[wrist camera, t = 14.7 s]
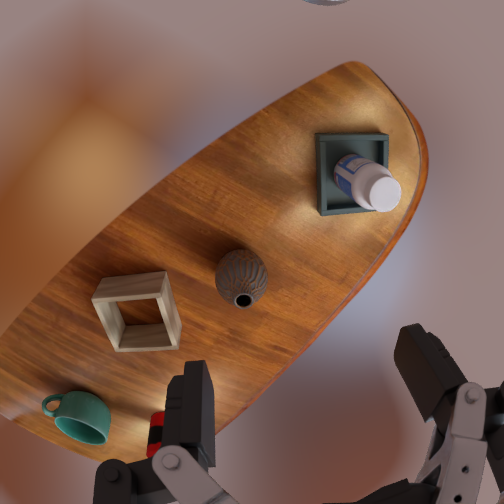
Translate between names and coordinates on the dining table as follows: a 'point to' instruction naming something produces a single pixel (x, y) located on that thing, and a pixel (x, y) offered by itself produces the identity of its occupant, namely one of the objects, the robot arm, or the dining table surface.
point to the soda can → (155, 433)
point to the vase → (241, 278)
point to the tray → (328, 155)
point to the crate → (134, 289)
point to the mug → (81, 416)
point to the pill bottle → (367, 183)
